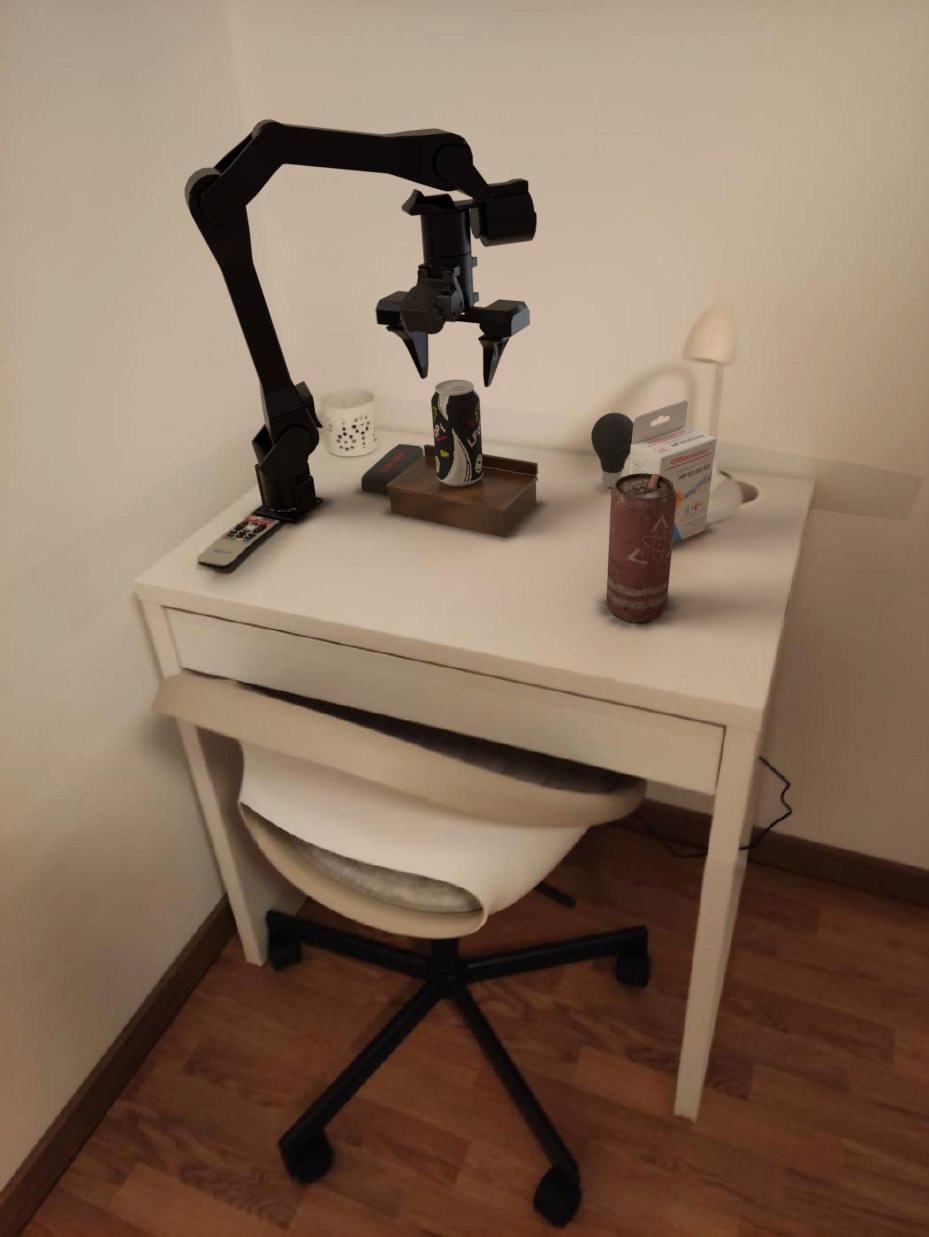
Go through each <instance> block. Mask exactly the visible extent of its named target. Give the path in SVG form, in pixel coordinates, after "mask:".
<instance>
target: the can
mask: <svg viewBox="0 0 929 1237" xmlns="http://www.w3.org/2000/svg"><path fill="white" fill-rule="evenodd" d="M676 500H677V495H676V491H675V489H674V486H673V483H672V482H671V481H670V480H669V479H667V478H665V477H663V476H660V474H648V473H637V474H630V475H629V474H627V475H624V476H622V478H620V479H619V480H617V482H616V483H615V487H614V488H613V489H611V491H610V508H609V510H610V512H609V531H608V532H609V533H608V554H607V575H606V576H607V577H606V596H605V598H606V599H605V600H606V601H605V604H606V607H607V609H608V610H609V612H610V613H611V615H612V616H614V617H615V618H617V619H618V620H621V621H623V622H627V623H631V624H644V623H648V622H649V623H650V622H652V621H654V620H657V619H658V618H659V617H661V616H662V614H664V613H665V611H666V608H667V606H668V596H669V588H670V587H669V586H670V577H671V576H670V574H671V566H672V565H671V564H672V553H673V544H674V543H673V532H674V522H675V511H676Z"/></svg>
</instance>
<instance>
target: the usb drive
mask: <svg viewBox="0 0 929 1237" xmlns="http://www.w3.org/2000/svg"><path fill="white" fill-rule="evenodd" d="M424 445H425V444H420V443H412V442H410V443H409V442H405V443H398V444H397V445H395V446H394V447H393V448H391V449H390V450H388V452H386V453H385V454H383V456H382V457H381V458H380V459H379V460H378V461H377V462H375V463H374V464H373V465H372V466H371V467H370V468H369V469H367V470H366V471H365V472H364V474H362V476H361V479H360V480H361V481H360V483H361V484H360V485H361V492H363V493H372V494H379V495H385V496H386V495H387V496H389V489H387V486H386V485H387V484H388V483H389V482H391V481H392V480H393V479H395V478H396V477H397V476H398V475H400V474H401V473H402V472H404V471H405V470H406V469H408V468H409V467H410V466H412V465H413V464H414V463H415V462H417V461H418V460H419V459H421V458H422V457H423V456H425V452H424Z"/></svg>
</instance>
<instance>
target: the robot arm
mask: <svg viewBox="0 0 929 1237" xmlns="http://www.w3.org/2000/svg"><path fill="white" fill-rule="evenodd" d="M283 165H292V166H303V167H312V168H323V169H333V170H344V171H355V172H365V173H375V174H384V175H391V176H394V177H397V178H400V179H403V180H406V181H408V182H409V181H410V182H412V183H416V184H419V185H422V186H425V187H428V188H432V189H435V190H438V191H442V192H446V193H438V194H430V195H424V193H423V192H422V191H421V190H419V189H417V188H414V189H413V190H412V191H411V194H410V196H409V197H408V198H407V199H406V200H405V202H403V203H402V205H401V207H400V208H401V211H402V212H404V213H405V214H407V215H408V216H411V217H415V216H419V218H420V231H421V243H422V244H421V246H422V256H423V262H422V263H421V264H418V265H417V268H418V270H417V273H416V274H417V280H416V284H415V285H413V286H412V287H411V288H409V290H408V291H405V290H404V291H403V290H396V291H395V292H393V293H391V294H388V295H387V296H384V297H382V298H380V299H379V300H378V302H377V303H376V306H375V309H374V311H375V320H376V324H377V325H380V326H381V325H382V326H385V330H387V332H391V333H393V334H394V335H396V336H397V337H399V338H400V339H401V341H402V342H403V343H404V346H405V348H406V349H407V352H408V353H409V356H410V358H411V359H412V362H413V365H414V366H415V368H416V371H417V374H418V375H419V377H420V379H422V380H425V379H427V378H428V374H429V366H430V365H429V360H430V359H429V358H430V357H429V335H437V334H438V333H440V332H441V331H442V330H444V327H445V326H444V325H445V324H446V323H447V322H448V323H456V322H457V323H459V322H460V323H468V324H478V328H479V330H480V331H481V332H482V335H480V336H479V337H478V338H477V340H478V342H479V343H480V345H481V347H482V380H483V386H484V388H490V386H491V385H492V382H493V380H494V377H495V374H496V372H497V370H498V367H499V363H500V362H501V358H502V356H503V353H504V351H505V349H506V346H507V345H508V343H509V341H510V339H511V338H512V337H513V336H515V335H517V334H518V333H519V332H521V331H522V330H524V329H525V328H528V327H529V326H530V325H531V311H530V309H529V307H528V305H527V303H526V302H525V301H524V300H511V299H500V298H499V299H496V300H495V301H494V302H492V303H490V304H488V305H487V306H476V305H475V304H476V303H478V302H480V292H478V291H474V273H473V272H474V271H473V269H474V268H476V267H478V256H473V251H472V236H473V238H474V240H479V241H480V243H481V244H482V246H483V247H484V248H489V247H496V246H497V247H498V246H502V245H504V246H506V245H512V244H519V243H528V242H532V241H533V240H534V238H535V236H536V232H537V225H538V214H537V212H536V211H535V205H534V204H535V203H534V200H533V198H532V195H531V193H530V191H529V190H530V189H529V188H530V187H529V185H530V184H529V181H528V180H527V179H524V178H521V177H520V178H512V179H509V180H506V181H502V182H493V183H488V182H487V181H486V179H485V178H484V176H482V174H481V173H480V171H479V170H478V169H477V167H476V166H475V164H474V154H473V151H472V148H471V146H470V145H469V143H468V142H467V140H466V138H465V137H463V136H462V135H460V134H458V133H454V132H450V131H447V130H444V129H441V128H421V129H410V130H403V131H397V132H392V133H391V132H389V133H372V132H366V131H365V132H363V131H357V130H356V131H355V130H347V129H339V128H329V127H321V126H311V125H310V126H309V125H302V124H292V123H284V122H279V121H277V120H275V119H271V118H269V119H268V118H267V119H261V120H260V121H259V122H257V123H256V124H255V126H254V127H253V128H252V130H251V131H250V132H249V133H248V134H247V135H246V136H245V137H244V138H243V139H241V141H239V143H238V144H236V145H235V146H234V147H233V148H231V149H230V150H229V151H228V152H227V153H226V154H225V155H223V156H222V157H221V158H220V159H219V160H218V162H217V163H216V164H215V165H214V166H212V167H211V166H209V167H202V168H200V169H198V170H195V171H194V172H193V173H192V174H191V175H190V176H189V177H188V178H187V181H186V183H185V186H184V193H183V194H184V199H185V204H186V206H187V209H188V210H189V213H190V216H191V217H192V220H193V221H194V224H195V225H196V227H197V229H198V230H199V232H200V234H201V236H202V238H203V240H204V242H205V243H206V245H207V247H208V249H209V251H210V252H211V254H212V256H213V258H214V260H215V262H216V263H217V265H218V267H219V270H220V273H221V275H222V278H223V281H224V284H225V286H226V287H225V288H226V290H227V293H228V295H229V298H230V301H231V304H232V306H233V310H234V312H235V315H236V318H237V321H238V325H239V327H240V330H241V332H242V335H243V338H244V341H245V344H246V347H247V349H248V352H249V355H250V358H251V361H252V365H253V367H254V370H255V373H256V376H257V378H258V384H259V391H260V392H259V393H260V402H261V403H260V404H261V408H262V415H263V421H264V423H263V425H262V426H261V428H260V429H259V431H258V432H257V433H256V434H255V436H254V437H253V439H252V440H251V442H250V443H251V446H252V449H253V452H254V455H255V457H256V460H257V463H256V464H254V470H255V475H256V479H257V486H258V490H259V496H260V500H261V504H262V505H260V506H258V507H257V508H256V509H254V514H255V515H256V516H260V517H266V518H270V519H274V520H279V521H282V522H288V523H292V524H293V523H297V522H299V520H301V519H302V518H304V517H305V516H306V515H308V514H310V513H311V512H313V510H314V509H316V508H318V507H319V506H321V505H322V504H323V503H324V498H323V497H320V496H317V492H316V486H315V479H314V476H313V475H312V474H311V470H310V469H311V468H310V464H309V457H310V455H312V453H314V452H315V450H316V449H317V446H318V445H319V444H320V439H321V438H320V432H319V429H323V428H324V425H323V423H322V422H321V420H320V418H319V415H317V412H316V406H315V400H314V395H313V394H312V392H311V390H310V388H309V387H308V385H307V383H306V382H305V380H302V381H301V382H299V383H297V384H295V383H294V381H293V379H292V377H291V374H290V371H289V368H288V365H287V362H286V359H285V356H284V353H283V349H282V346H281V344H280V341H279V336H278V333H277V331H276V327H275V324H274V321H273V319H272V316H271V313H270V310H269V306H268V303H267V300H266V297H265V293H264V291H263V288H262V286H261V282H260V279H259V276H258V272H257V270H256V267H255V263H254V258H253V250H252V240H251V229H250V223H249V216H248V210H247V206H248V204H250V203H251V202H252V201H253V199H255V198H256V197H257V195H259V193H260V192H261V191H262V190H263V188H264V187H265V186H266V184H267V183H268V182H269V181H270V179H271V178H272V177H273V176H274V175H275V173H276V172H277V171H279V169H280V168H281V167H283ZM455 191H456V192H458V193H459V194H463V195H465V196H467V197H469V199H460V200H454V199H453V197H452V195H450V194H449V193H448V192H455ZM266 506H267V507H268V508H269V509H273V510H275V509H276V510H281V509H291V508H296V509H297V511H291V512H274V511H271V510H269V509H268V508H267V507H266Z"/></svg>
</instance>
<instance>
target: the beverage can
mask: <svg viewBox="0 0 929 1237" xmlns="http://www.w3.org/2000/svg"><path fill="white" fill-rule="evenodd" d="M434 390H435V392H434V393H433V395H432V396H431V399H430V406H431V407H430V408H431V418H432V420H431V421H432V433H433V445H434V446H435V458H436V471H437V478H438V479H439V480H440V481H441V482H443V483H445V484H447V485H449V486H452V487H465V486H469V485H472V484H474V483H475V482H476V481H478V480H479V479H480V478H481V477H482V476H483V467H484V466H483V457H482V454H483V440H482V436H483V435H482V420H481V419H482V417H481V415H482V414H481V399H480V394H479V393H478V392H477V391H476V390H475V385H474V383H473V382H472V381H470V380H467V379H466V380H465V379H447V380H444V381H441V382H439V383H437V384H436V385H435V387H434Z"/></svg>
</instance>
